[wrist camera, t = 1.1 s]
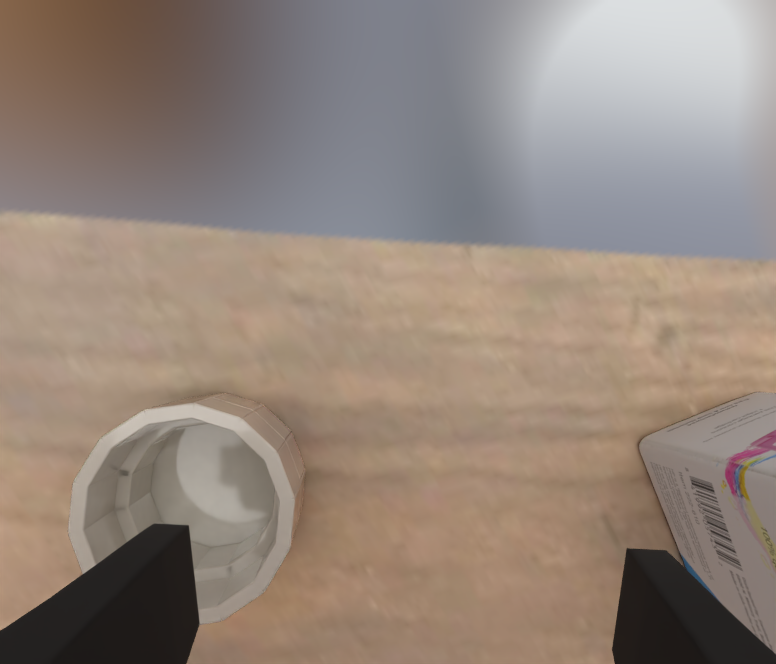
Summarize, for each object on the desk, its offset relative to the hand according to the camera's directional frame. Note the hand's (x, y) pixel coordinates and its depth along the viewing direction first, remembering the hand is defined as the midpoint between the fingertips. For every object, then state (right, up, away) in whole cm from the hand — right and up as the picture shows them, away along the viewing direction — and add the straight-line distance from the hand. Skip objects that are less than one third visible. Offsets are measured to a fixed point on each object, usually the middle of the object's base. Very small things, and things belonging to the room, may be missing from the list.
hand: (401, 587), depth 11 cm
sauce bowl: (-6, -1, +11) cm, 12 cm away
